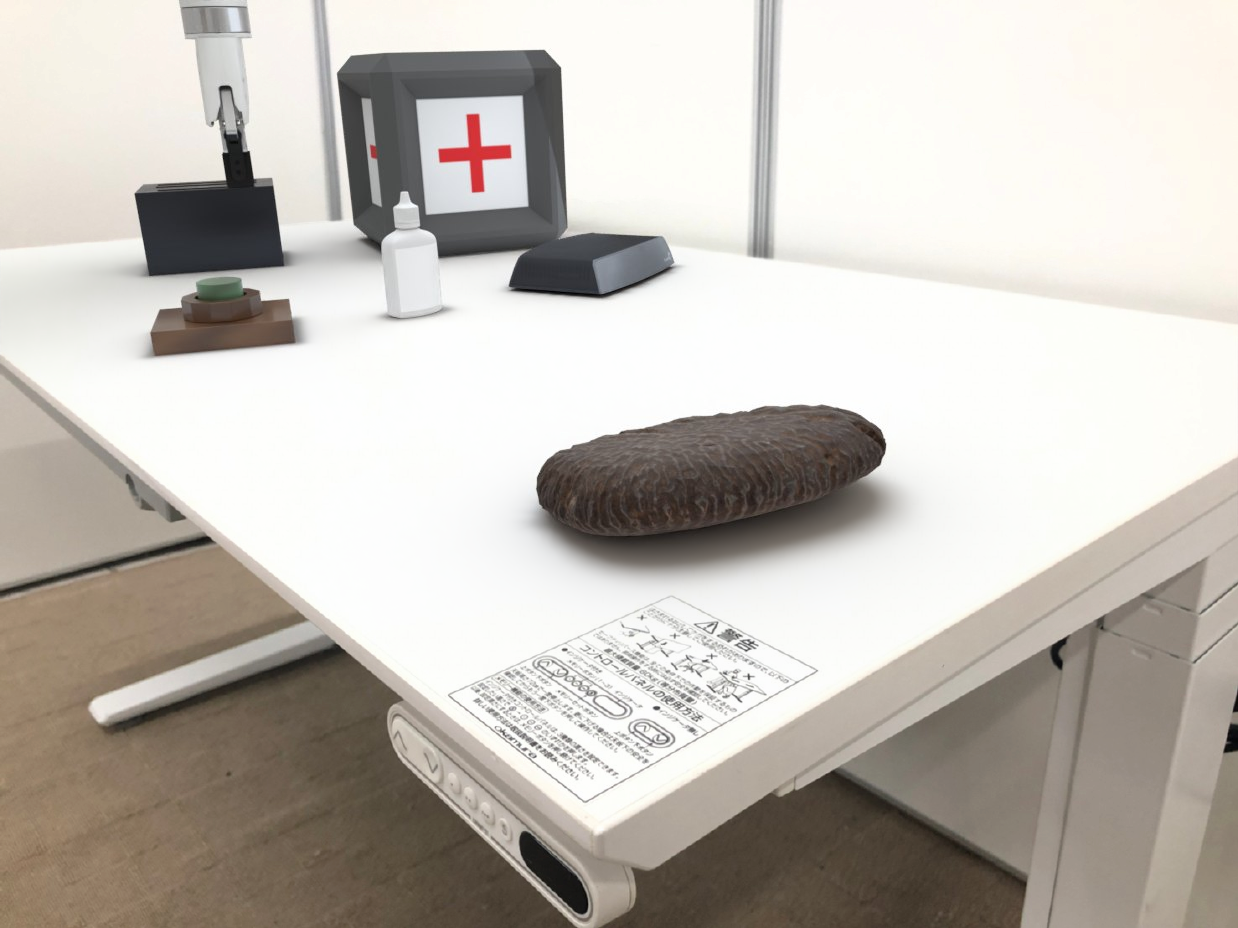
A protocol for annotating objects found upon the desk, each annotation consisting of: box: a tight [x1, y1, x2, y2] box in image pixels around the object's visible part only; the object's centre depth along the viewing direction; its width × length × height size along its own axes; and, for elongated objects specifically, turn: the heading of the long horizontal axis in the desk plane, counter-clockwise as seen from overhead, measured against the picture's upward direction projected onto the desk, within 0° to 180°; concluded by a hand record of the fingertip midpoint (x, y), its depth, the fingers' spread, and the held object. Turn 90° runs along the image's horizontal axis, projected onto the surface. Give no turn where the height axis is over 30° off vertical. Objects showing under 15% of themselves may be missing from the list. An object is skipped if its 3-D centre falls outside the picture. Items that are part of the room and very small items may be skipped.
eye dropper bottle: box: [380, 192, 443, 319], centre depth 105 cm, size 4×6×12 cm
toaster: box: [133, 177, 285, 277], centre depth 135 cm, size 16×11×10 cm
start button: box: [195, 276, 244, 301], centre depth 98 cm, size 4×4×2 cm
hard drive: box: [508, 232, 675, 295], centre depth 121 cm, size 13×19×4 cm
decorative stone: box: [535, 403, 887, 537], centre depth 59 cm, size 20×14×5 cm
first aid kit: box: [336, 49, 569, 257], centre depth 145 cm, size 25×25×25 cm
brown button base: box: [149, 287, 296, 357], centre depth 99 cm, size 12×10×4 cm
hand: (240, 184), depth 131 cm, fingers closed
